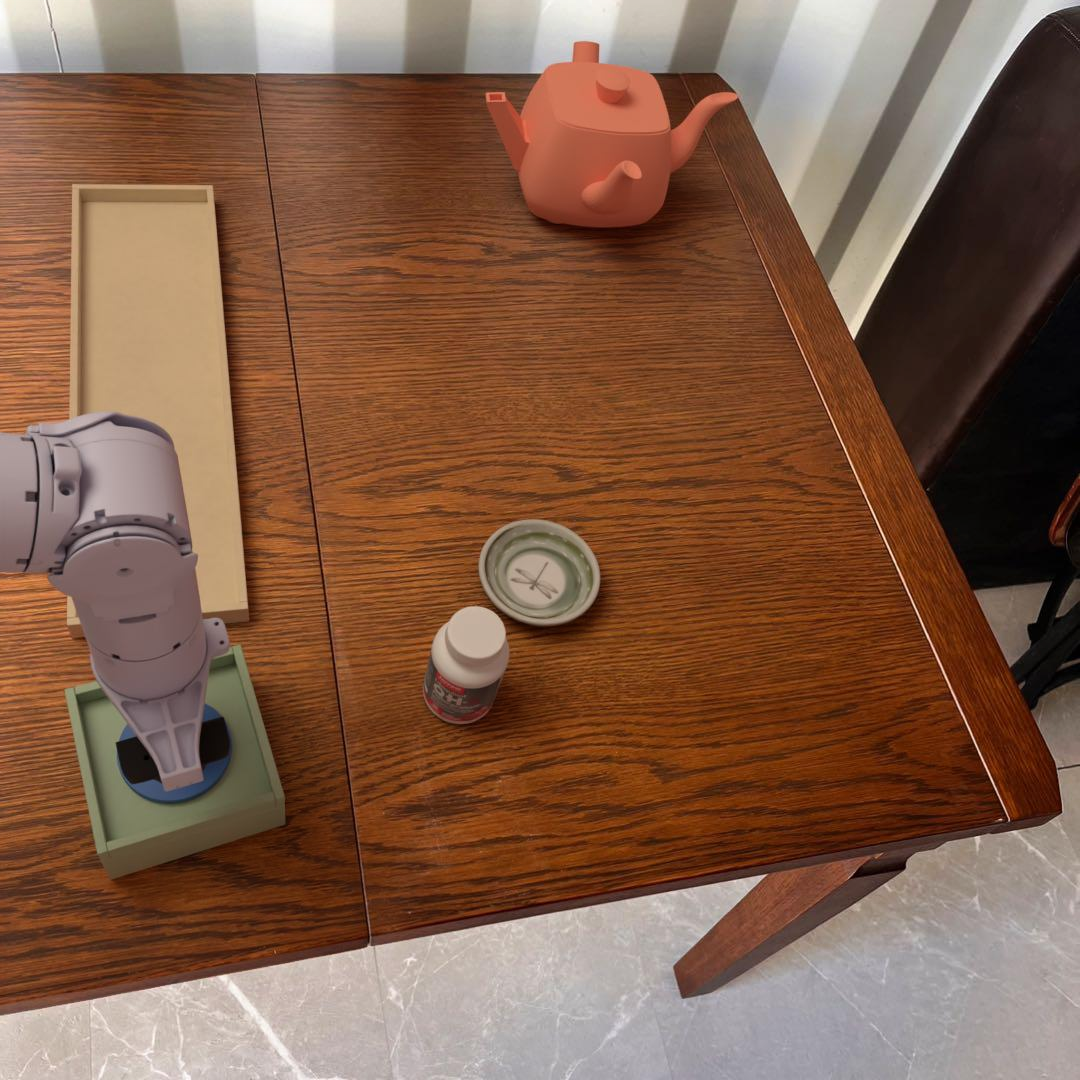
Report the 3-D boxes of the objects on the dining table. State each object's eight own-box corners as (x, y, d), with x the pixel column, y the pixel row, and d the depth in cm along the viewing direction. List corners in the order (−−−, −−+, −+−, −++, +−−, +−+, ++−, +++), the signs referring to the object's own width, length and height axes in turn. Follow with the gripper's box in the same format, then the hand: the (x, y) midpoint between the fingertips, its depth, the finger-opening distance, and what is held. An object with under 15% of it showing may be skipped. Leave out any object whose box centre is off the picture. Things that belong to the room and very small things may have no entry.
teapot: (699, 201, 116) (743, 87, 105) (603, 284, 107) (640, 169, 95) (564, 115, 120) (593, -4, 109) (460, 188, 110) (479, 66, 99)
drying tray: (249, 621, 80) (248, 608, 78) (71, 638, 77) (66, 625, 75) (214, 201, 103) (212, 184, 101) (75, 201, 99) (72, 183, 98)
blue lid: (130, 818, 67) (120, 793, 63) (108, 718, 70) (97, 688, 66) (243, 784, 70) (240, 758, 66) (217, 688, 73) (213, 658, 69)
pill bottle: (421, 725, 78) (435, 665, 70) (422, 658, 81) (436, 593, 73) (495, 728, 79) (518, 669, 71) (494, 661, 82) (515, 598, 74)
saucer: (605, 554, 89) (612, 538, 87) (579, 654, 84) (586, 640, 82) (493, 519, 89) (497, 502, 87) (460, 616, 84) (464, 601, 82)
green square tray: (110, 880, 69) (97, 854, 64) (78, 723, 74) (63, 688, 69) (285, 824, 73) (284, 796, 68) (243, 678, 78) (240, 643, 73)
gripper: (258, 716, 53) (265, 809, 64) (190, 479, 59) (207, 601, 70) (105, 759, 50) (140, 848, 61) (51, 507, 57) (92, 629, 68)
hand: (168, 718), depth 66 cm, fingers open, 7 cm apart
